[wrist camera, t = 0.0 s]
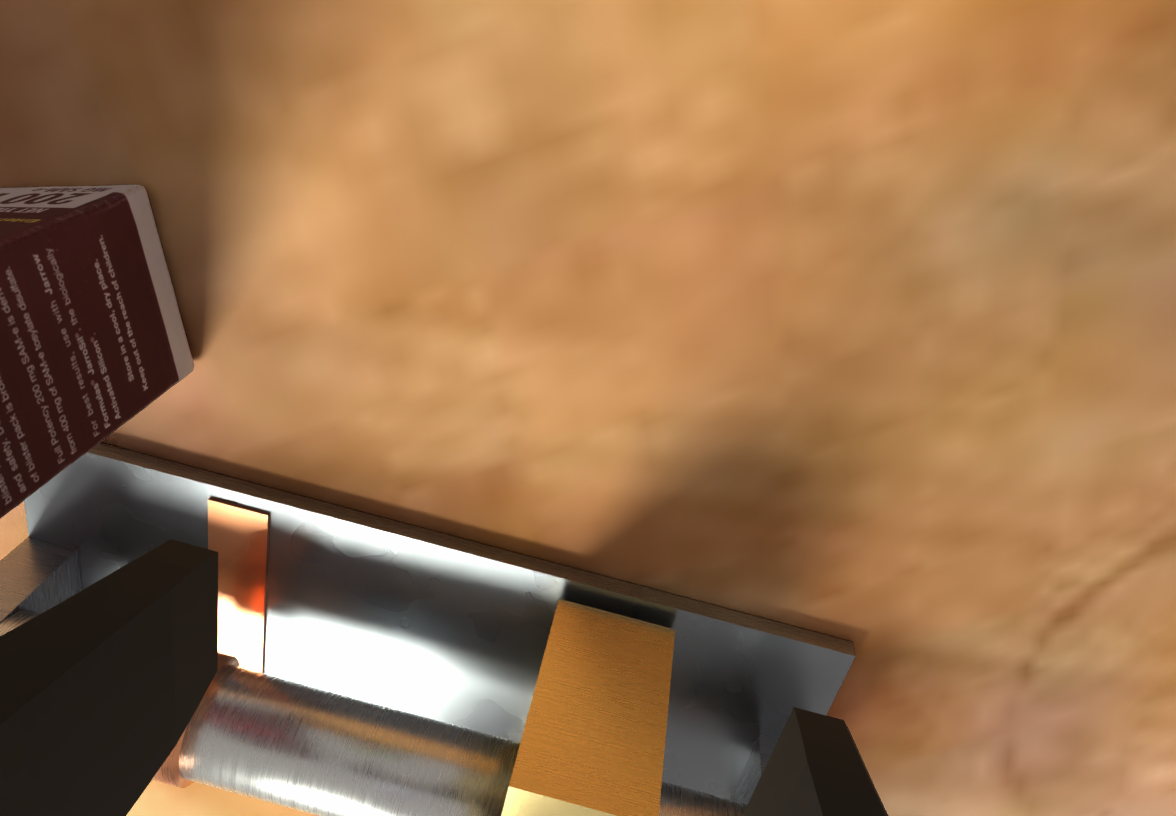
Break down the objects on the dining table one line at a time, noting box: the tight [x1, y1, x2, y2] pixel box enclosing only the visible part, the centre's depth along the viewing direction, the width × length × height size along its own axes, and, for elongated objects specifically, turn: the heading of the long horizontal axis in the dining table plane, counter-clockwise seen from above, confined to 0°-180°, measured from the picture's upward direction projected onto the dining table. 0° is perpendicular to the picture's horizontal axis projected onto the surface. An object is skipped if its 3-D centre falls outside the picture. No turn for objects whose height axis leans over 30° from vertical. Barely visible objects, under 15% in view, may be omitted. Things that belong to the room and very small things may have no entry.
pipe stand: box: [0, 443, 856, 816], centre depth 23 cm, size 22×10×5 cm, turn 78°
